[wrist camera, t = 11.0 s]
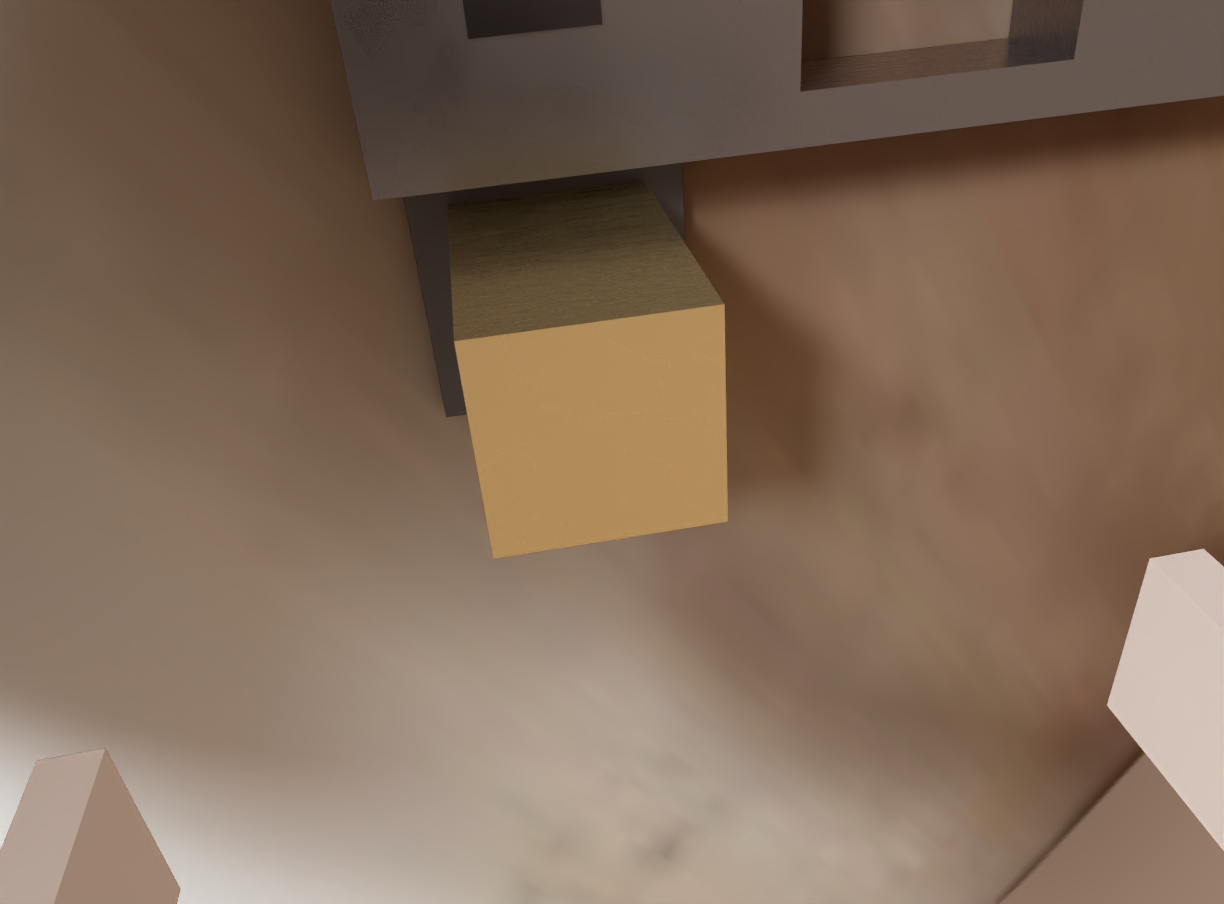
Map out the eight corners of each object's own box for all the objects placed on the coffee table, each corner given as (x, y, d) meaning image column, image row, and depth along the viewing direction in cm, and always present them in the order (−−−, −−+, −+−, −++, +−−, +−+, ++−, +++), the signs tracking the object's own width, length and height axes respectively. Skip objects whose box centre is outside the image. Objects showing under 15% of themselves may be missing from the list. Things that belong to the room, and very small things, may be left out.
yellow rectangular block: (477, 382, 27) (492, 559, 20) (447, 205, 24) (454, 341, 18) (654, 356, 27) (727, 521, 21) (644, 180, 25) (724, 304, 18)
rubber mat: (446, 406, 28) (446, 417, 27) (398, 161, 24) (398, 168, 24) (685, 372, 29) (690, 381, 28) (675, 128, 25) (680, 133, 24)
